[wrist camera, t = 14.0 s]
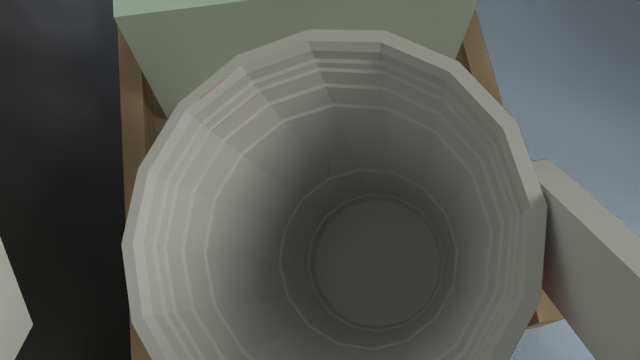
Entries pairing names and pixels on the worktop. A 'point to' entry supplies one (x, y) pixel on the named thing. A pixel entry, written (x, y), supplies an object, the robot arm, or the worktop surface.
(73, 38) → the worktop surface
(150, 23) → the pusher
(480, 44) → the wooden tray
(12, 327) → the robot arm
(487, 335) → the plastic cup
